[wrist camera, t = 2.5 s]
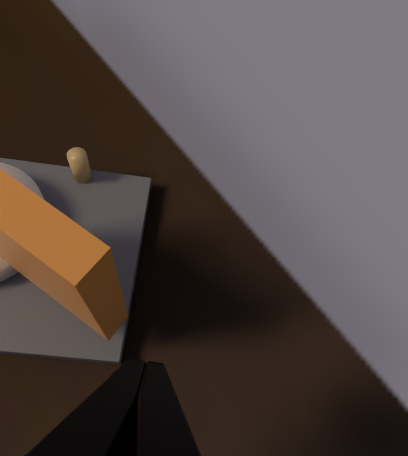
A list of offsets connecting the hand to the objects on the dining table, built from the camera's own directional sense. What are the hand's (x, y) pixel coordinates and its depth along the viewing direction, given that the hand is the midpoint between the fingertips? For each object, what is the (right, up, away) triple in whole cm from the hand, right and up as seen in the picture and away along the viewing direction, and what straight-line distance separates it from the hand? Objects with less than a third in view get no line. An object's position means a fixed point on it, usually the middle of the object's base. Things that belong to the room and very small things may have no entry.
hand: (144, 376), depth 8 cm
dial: (-9, +2, +13) cm, 16 cm away
